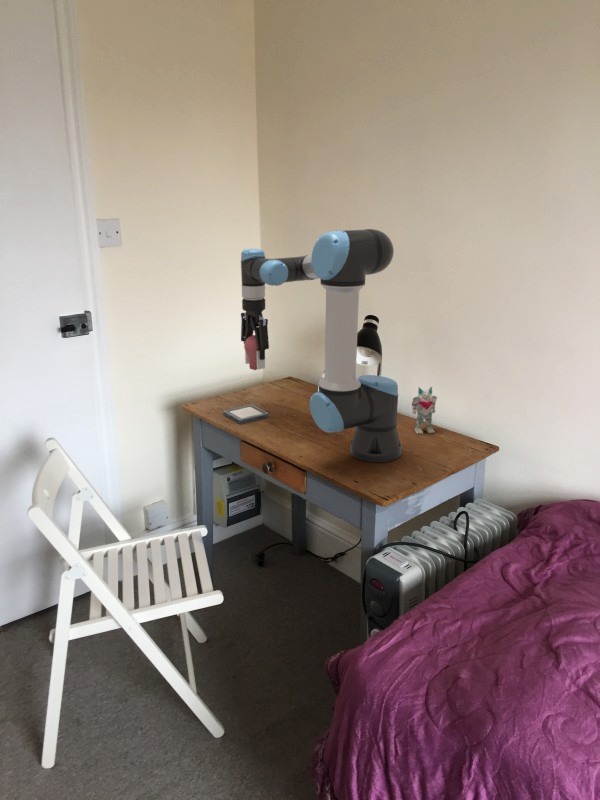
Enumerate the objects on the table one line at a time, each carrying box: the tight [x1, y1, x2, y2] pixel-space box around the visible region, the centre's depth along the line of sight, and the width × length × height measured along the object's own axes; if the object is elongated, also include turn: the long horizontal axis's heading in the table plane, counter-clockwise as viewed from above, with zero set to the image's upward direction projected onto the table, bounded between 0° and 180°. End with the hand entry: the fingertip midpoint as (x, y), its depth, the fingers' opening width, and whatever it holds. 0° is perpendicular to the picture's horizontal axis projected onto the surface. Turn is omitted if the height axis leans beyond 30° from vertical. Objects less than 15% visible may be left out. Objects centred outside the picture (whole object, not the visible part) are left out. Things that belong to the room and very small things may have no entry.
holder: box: [222, 403, 270, 425], centre depth 224 cm, size 12×12×2 cm
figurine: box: [411, 386, 438, 435], centre depth 208 cm, size 8×8×15 cm
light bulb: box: [243, 334, 259, 371], centre depth 217 cm, size 7×7×12 cm
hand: (255, 365), depth 219 cm, fingers closed on light bulb, 7 cm apart
